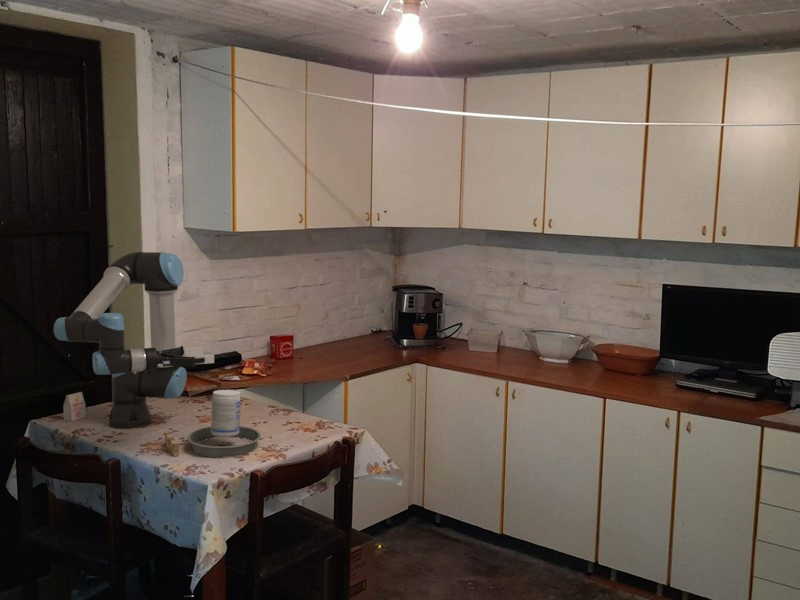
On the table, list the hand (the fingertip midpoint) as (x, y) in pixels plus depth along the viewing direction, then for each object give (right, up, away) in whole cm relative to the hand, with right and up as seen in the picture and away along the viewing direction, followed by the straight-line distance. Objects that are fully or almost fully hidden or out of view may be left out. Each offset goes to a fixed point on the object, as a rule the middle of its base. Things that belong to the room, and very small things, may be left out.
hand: (208, 354), depth 263 cm
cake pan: (+5, -33, +4) cm, 33 cm away
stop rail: (-12, -32, -1) cm, 34 cm away
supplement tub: (+5, -28, +3) cm, 28 cm away
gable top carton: (-58, -27, +30) cm, 71 cm away
